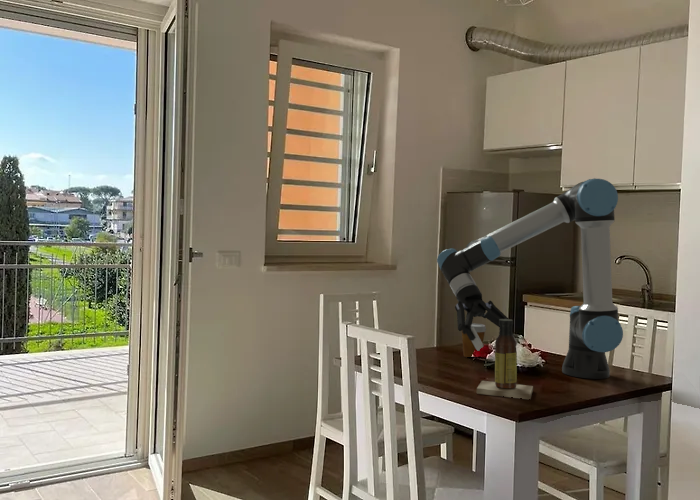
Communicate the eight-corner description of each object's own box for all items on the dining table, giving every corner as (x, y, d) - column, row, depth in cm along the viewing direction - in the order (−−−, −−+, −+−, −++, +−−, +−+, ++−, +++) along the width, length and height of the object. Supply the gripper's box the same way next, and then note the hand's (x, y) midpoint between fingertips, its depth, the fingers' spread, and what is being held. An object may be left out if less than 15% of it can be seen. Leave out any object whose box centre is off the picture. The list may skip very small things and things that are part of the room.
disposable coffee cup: (487, 359, 244) (488, 327, 244) (461, 358, 244) (462, 326, 244) (482, 354, 254) (483, 323, 253) (457, 353, 254) (458, 322, 254)
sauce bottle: (517, 386, 196) (520, 319, 196) (515, 390, 191) (518, 321, 190) (494, 383, 199) (497, 317, 198) (492, 388, 193) (495, 319, 192)
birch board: (532, 391, 197) (533, 386, 197) (530, 399, 187) (530, 394, 187) (481, 385, 202) (482, 380, 202) (476, 393, 192) (476, 388, 192)
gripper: (489, 297, 218) (520, 351, 206) (429, 299, 205) (459, 357, 193) (501, 283, 213) (534, 337, 201) (441, 284, 200) (472, 342, 188)
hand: (497, 347), depth 197 cm, fingers open, 13 cm apart
